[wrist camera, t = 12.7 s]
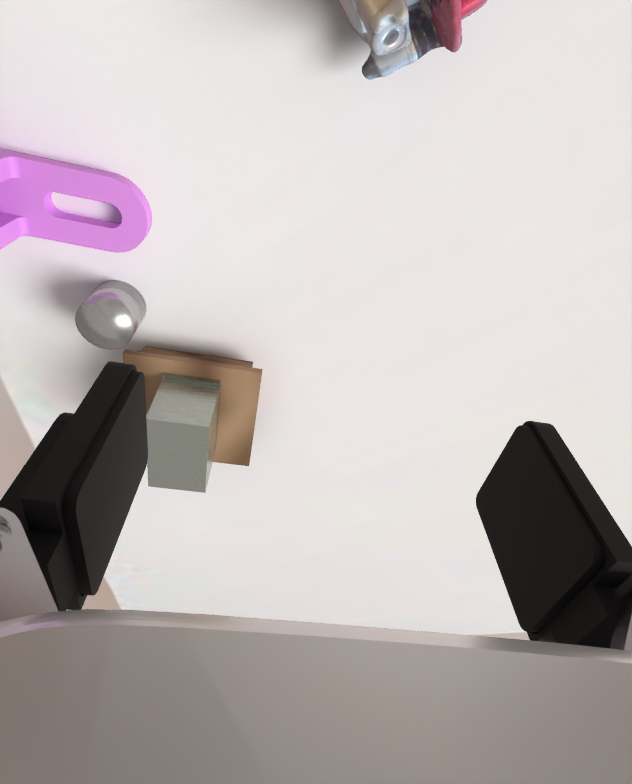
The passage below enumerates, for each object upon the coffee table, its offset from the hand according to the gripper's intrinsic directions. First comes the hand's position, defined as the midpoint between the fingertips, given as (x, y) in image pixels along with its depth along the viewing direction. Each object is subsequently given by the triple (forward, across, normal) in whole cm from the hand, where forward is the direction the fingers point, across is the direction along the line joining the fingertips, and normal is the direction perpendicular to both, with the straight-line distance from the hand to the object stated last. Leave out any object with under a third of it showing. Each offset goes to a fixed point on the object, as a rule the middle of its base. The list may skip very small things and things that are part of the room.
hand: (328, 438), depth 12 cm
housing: (+25, +8, +22) cm, 34 cm away
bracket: (+29, +19, +5) cm, 35 cm away
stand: (+28, +8, +22) cm, 37 cm away
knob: (+28, +15, +13) cm, 35 cm away
